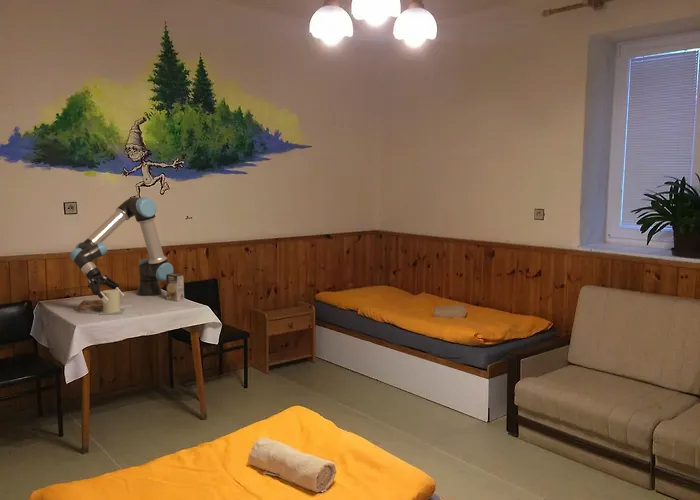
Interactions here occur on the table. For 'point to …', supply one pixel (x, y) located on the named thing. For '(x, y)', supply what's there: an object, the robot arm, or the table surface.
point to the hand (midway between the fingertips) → (115, 299)
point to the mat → (112, 313)
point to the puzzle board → (90, 305)
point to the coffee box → (175, 286)
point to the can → (111, 301)
